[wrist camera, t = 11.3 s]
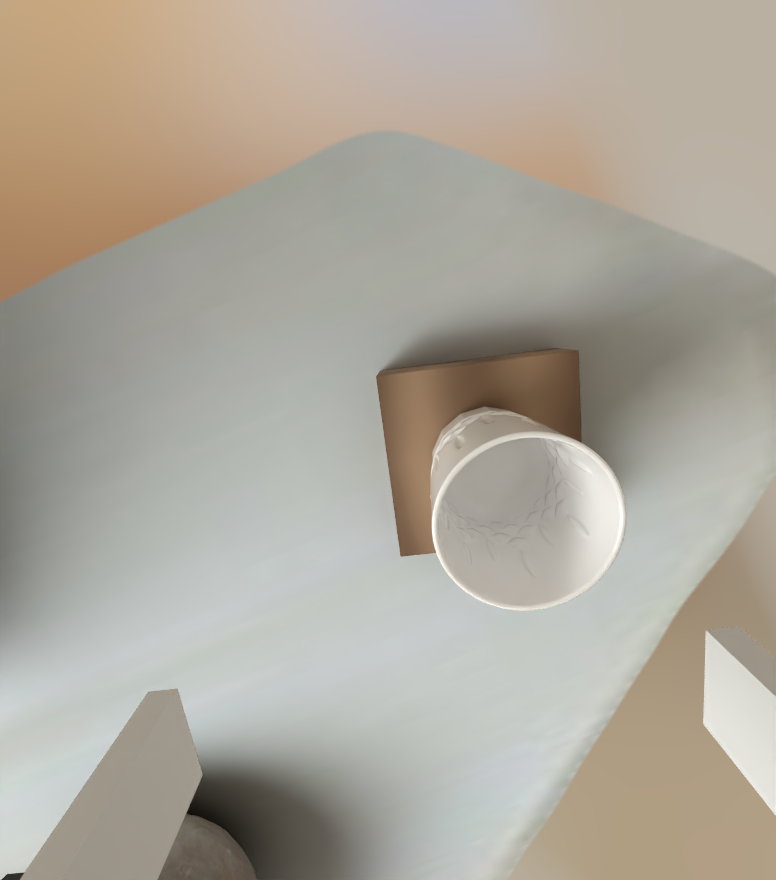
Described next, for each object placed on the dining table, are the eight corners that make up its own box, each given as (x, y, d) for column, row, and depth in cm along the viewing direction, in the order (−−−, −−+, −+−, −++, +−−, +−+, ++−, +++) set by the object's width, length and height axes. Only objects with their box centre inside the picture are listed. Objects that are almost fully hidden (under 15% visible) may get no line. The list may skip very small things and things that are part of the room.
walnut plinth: (401, 530, 34) (400, 556, 30) (380, 371, 31) (376, 376, 27) (563, 513, 33) (584, 538, 29) (556, 348, 30) (578, 350, 26)
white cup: (493, 369, 27) (545, 390, 17) (575, 463, 28) (667, 533, 18) (396, 455, 28) (392, 519, 18) (478, 541, 29) (514, 643, 20)
